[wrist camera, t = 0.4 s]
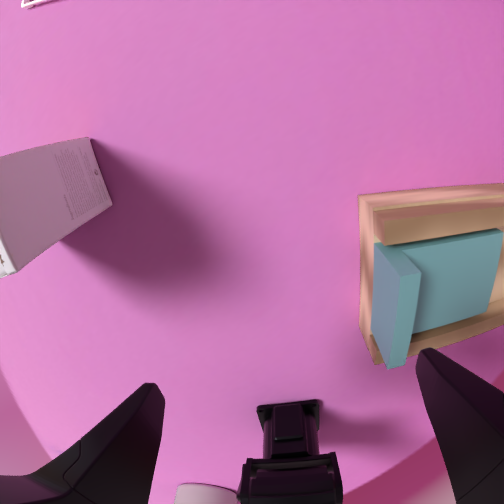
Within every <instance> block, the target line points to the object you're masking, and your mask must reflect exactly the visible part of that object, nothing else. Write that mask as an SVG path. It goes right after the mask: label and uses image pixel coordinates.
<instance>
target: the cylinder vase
mask: <svg viewBox="0 0 504 504" xmlns="http://www.w3.org/2000/svg"><path fill="white" fill-rule="evenodd" d="M237 501H238V500H237V499H236V494H235V493H234V492H232V491H230V490H228V489H225V488H221V487H217V486H212V485H206V484H197V483H186V484H181V485H179V486H178V487H177V491H176V496H175V501H174V504H237Z"/></svg>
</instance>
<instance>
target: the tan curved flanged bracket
mask: <svg viewBox="0 0 504 504" xmlns="http://www.w3.org/2000/svg"><path fill="white" fill-rule="evenodd" d="M358 207H359V227H360V316H359V327H360V330H361V333H362V335H363V338H364V340H365V343H366V346H367V348H368V350H369V351H370V354H371V356H372V359H373V362H374V365H377V364H381V363H385V362H384V360H383V358H382V355H381V353H380V350H379V348H378V345H377V343H376V341H375V338H374V336H373V334H372V331H371V329H370V327H371V314H372V297H373V270H374V243H378V242H381V243H382V244H383V245H384V246H387V245H393V244H400V243H406V242H412V241H419V240H425V239H431V238H437V237H444V236H450V235H456V234H462V233H468V232H474V231H480V230H486V229H492V228H497V229H499V230H501V231H502V232H504V183H497V184H478V185H462V186H448V187H436V188H424V189H413V190H402V191H392V192H382V193H373V194H364V195H358ZM501 325H504V234H503V241H502V247H501V253H500V258H499V263H498V268H497V273H496V277H495V281H494V285H493V289H492V293H491V297H490V301H489V304H488V308H487V311H486V312H484V313H481V314H478V315H475V316H472V317H469V318H466V319H463V320H460V321H457V322H453V323H450V324H447V325H443V326H440V327H436V328H433V329H429V330H426V331H422V332H418V333H414V334H412V335H411V340H410V345H409V349H408V353H407V357H410V356H413V355H417V354H419V352H420V350H422V349H425V348H429V347H431V348H434V349H438V348H441V347H444V346H447V345H450V344H453V343H456V342H459V341H462V340H465V339H468V338H471V337H473V336H476V335H479V334H481V333H484V332H487V331H489V330H492V329H494V328H497V327H499V326H501Z"/></svg>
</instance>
